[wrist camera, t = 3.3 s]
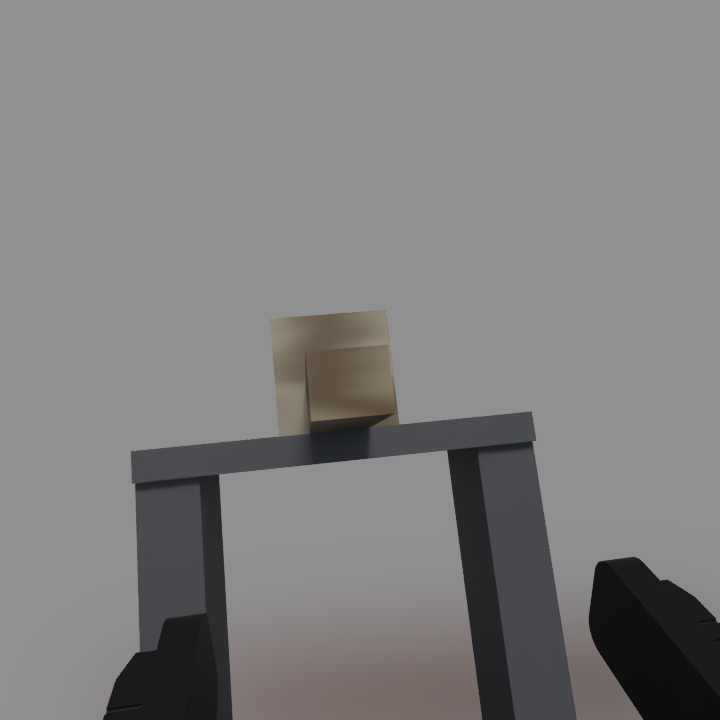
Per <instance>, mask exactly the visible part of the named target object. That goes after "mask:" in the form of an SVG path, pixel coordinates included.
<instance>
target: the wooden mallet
mask: <svg viewBox="0 0 720 720" xmlns="http://www.w3.org/2000/svg"><path fill="white" fill-rule="evenodd" d="M270 323H271V336H272V348H273V362H274V375H275V388H276V401H277V414H278V427H279V437H281V436H291V435H301V434H311V433H321V432H332V431H342V430H352V429H362V428H372V427H382V426H392V425H399V420H398V411H397V403H396V394H395V385H394V376H393V367H392V359H391V351H390V342H389V333H388V324H387V316H386V310H383V311H368V312H355V313H341V314H327V315H315V316H300V317H287V318H273V319H270Z"/></svg>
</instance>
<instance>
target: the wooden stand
mask: <svg viewBox="0 0 720 720" xmlns="http://www.w3.org/2000/svg"><path fill="white" fill-rule="evenodd" d="M532 441H536V436H535V430H534V424H533V418H532V412H523V413H513V414H503V415H493V416H483V417H473V418H463V419H453V420H442V421H433V422H422V423H412V424H402V425H392V426H382V427H372V428H362V429H352V430H342V431H332V432H321V433H311V434H301V435H291V436H281V437H271V438H261V439H251V440H241V441H231V442H221V443H211V444H201V445H191V446H182V447H170V448H160V449H150V450H140V451H132V452H131V466H132V483H135V491H136V524H137V559H138V594H139V595H138V596H139V628H140V629H139V631H140V652H146V651H153V650H156V649H157V646H158V642H159V638H160V634H161V630H162V627H163V623H164V621H165V620H166V619H167V618H173V617H180V616H188V615H195V614H203V613H206V614H207V617H208V621H209V626H210V632H211V638H212V644H213V650H214V655H215V661H216V667H217V674H218V708H217V717H216V720H232V701H231V683H230V664H229V647H228V629H227V611H226V593H225V575H224V557H223V540H222V521H221V503H220V486H219V474H226V473H236V472H246V471H255V470H264V469H274V468H283V467H293V466H301V465H312V464H321V463H331V462H340V461H349V460H359V459H368V458H378V457H387V456H397V455H406V454H416V453H425V452H434V451H444V450H447V452H448V460H449V467H450V475H451V482H452V490H453V498H454V506H455V513H456V521H457V529H458V536H459V544H460V552H461V559H462V566H463V574H464V582H465V590H466V597H467V605H468V613H469V621H470V627H471V636H472V644H473V651H474V659H475V666H476V674H477V681H478V689H479V697H480V704H481V712H482V720H576V713H575V707H574V701H573V694H572V688H571V682H570V675H569V670H568V663H567V656H566V650H565V644H564V638H563V631H562V625H561V619H560V613H559V606H558V600H557V594H556V587H555V581H554V575H553V568H552V562H551V556H550V549H549V543H548V537H547V531H546V525H545V519H544V512H543V505H542V499H541V493H540V486H539V480H538V474H537V468H536V461H535V455H534V449H533V443H532Z"/></svg>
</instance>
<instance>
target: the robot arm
mask: <svg viewBox="0 0 720 720" xmlns="http://www.w3.org/2000/svg"><path fill="white" fill-rule="evenodd" d="M589 627H590V632H591V636H592V638H593V641H594V643H595V646H596V648H597V650H598V651H599V653H600V655H601V656H602V657H603V659H604V661H605V662H606V663H607V665H608V666H609V668H610V670H611V671H612V673H613V674H614V676H615V677H616V679H617V680H618V682H619V683H620V685H621V686H622V688H623V689H624V691H625V692H626V694H627V695H628V697H629V698H630V700H631V701H632V703H633V704H634V706H635V707H636V709H637V711H638V712H639V714H640V715H641V717H642V718H643V720H720V623H717V621H716V618H715V617H714V616H713V615H712V614H711V613H710V612H709V611H708V610H707V609H706V608H705V607H704V606H703V605H702V604H701V603H700V602H699V601H698V600H697V599H696V598H695V597H694V596H693V595H691V594H689V593H688V592H686V591H685V590H683V589H682V588H680V587H678V586H677V585H675V584H674V583H672V582H670V581H669V580H662V581H660V580H659V579H658V578H657V577H656V576H655V575H654V574H653V572H652V571H651V570H650V569H649V568H648V567H647V566H646V565H645V564H644V563H643V562H642V561H641V560H640V559H638V558H636V557H629V558H622V559H615V560H607V561H601V562H599V563H598V564H597V565H596V568H595V574H594V581H593V589H592V597H591V605H590V612H589ZM217 708H218V674H217V667H216V661H215V655H214V650H213V644H212V638H211V632H210V626H209V621H208V617H207V614H206V613H203V614H195V615H188V616H180V617H173V618H167V619H166V620H165V621H164V623H163V627H162V630H161V634H160V638H159V642H158V646H157V649H156V650H153V651H146V652H139V653H135V655H134V656H133V657H132V659H131V660H130V662H129V663H128V664H127V665H126V667H125V668H124V670H123V671H122V672H121V674H120V675H119V676H118V678H117V679H116V682H115V684H114V688H113V690H112V694H111V697H110V699H109V703H108V706H107V712H106V715H104V718H103V720H216V717H217Z"/></svg>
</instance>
